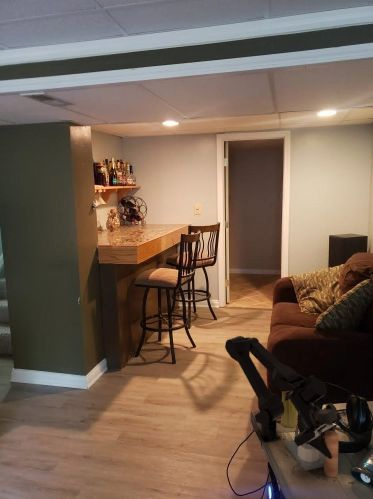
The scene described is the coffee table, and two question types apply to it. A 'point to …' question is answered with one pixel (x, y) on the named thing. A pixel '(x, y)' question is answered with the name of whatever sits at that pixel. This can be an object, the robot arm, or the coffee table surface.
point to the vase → (288, 413)
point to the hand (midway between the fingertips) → (335, 455)
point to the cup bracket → (306, 455)
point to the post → (332, 446)
